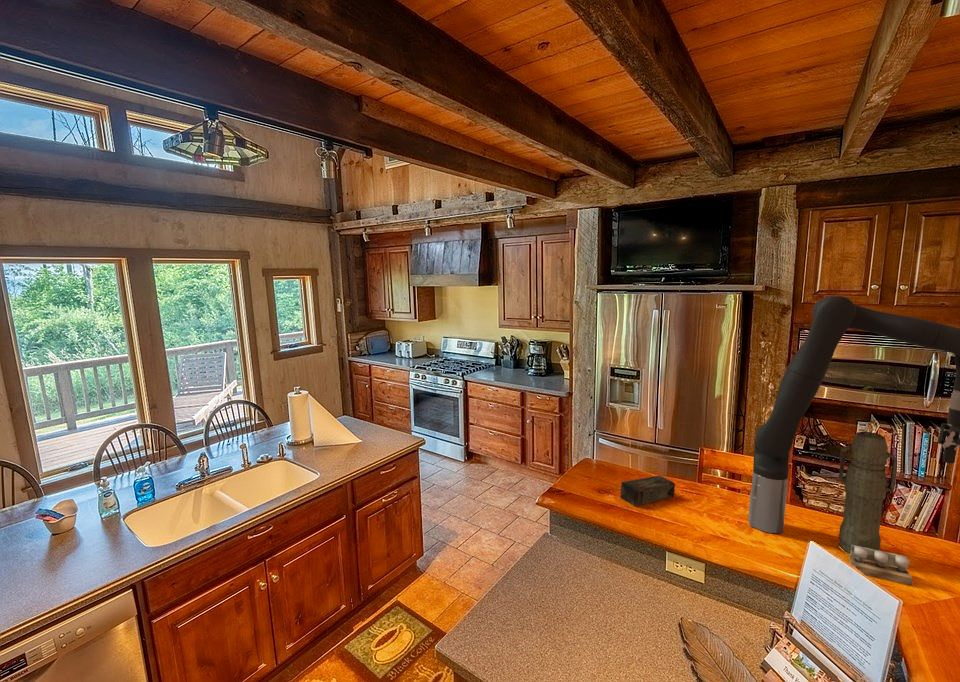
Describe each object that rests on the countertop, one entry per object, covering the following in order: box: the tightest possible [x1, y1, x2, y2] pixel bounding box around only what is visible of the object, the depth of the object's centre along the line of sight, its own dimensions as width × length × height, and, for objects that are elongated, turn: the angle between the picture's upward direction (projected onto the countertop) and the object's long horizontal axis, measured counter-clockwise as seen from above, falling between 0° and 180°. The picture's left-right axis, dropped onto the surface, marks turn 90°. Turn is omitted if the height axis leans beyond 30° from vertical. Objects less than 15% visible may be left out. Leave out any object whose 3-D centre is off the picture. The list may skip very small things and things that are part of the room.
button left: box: [854, 546, 867, 563], centre depth 117 cm, size 3×3×4 cm
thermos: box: [838, 431, 898, 555], centre depth 123 cm, size 9×12×35 cm
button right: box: [895, 554, 911, 573], centre depth 113 cm, size 3×3×4 cm
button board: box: [848, 545, 914, 587], centre depth 115 cm, size 11×6×5 cm, turn 62°
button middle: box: [874, 550, 888, 568], centre depth 115 cm, size 3×3×4 cm
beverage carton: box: [619, 475, 676, 507], centre depth 157 cm, size 8×19×7 cm, turn 113°
